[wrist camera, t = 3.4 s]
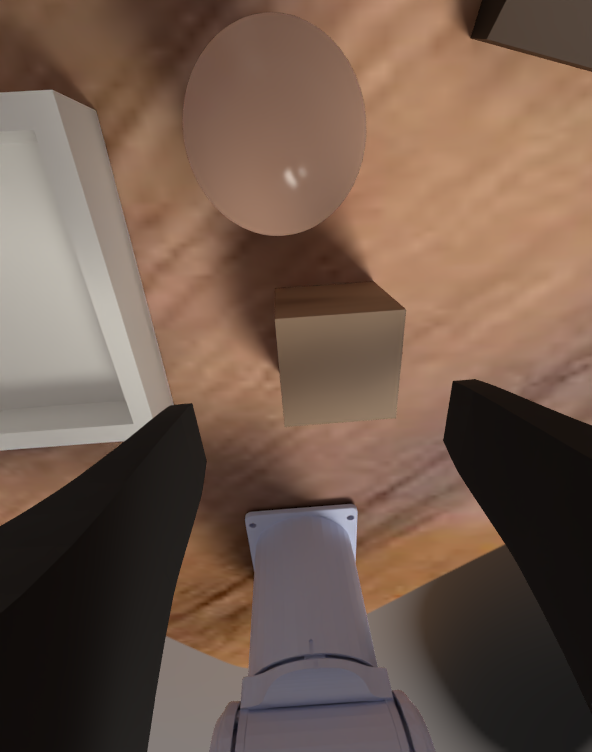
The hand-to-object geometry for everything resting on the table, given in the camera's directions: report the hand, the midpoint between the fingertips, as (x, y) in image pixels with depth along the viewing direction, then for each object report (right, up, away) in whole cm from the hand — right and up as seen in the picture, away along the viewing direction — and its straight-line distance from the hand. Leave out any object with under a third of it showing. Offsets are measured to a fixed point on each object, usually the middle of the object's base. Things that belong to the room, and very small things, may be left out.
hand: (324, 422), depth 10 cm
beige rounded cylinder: (-2, +11, +5) cm, 12 cm away
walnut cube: (+1, +4, +9) cm, 10 cm away
